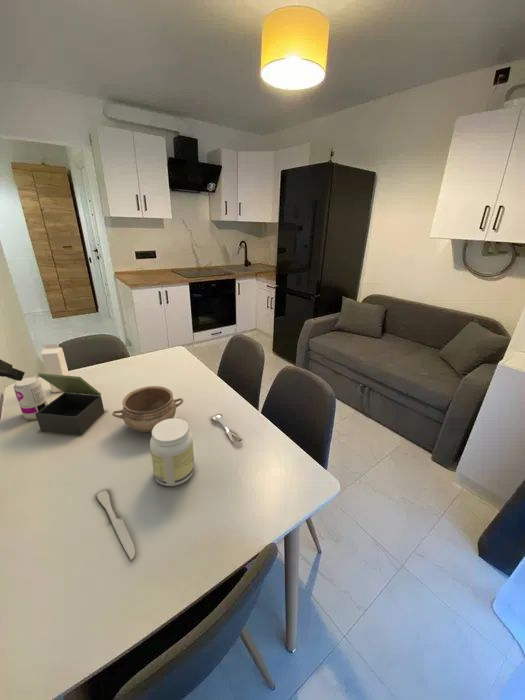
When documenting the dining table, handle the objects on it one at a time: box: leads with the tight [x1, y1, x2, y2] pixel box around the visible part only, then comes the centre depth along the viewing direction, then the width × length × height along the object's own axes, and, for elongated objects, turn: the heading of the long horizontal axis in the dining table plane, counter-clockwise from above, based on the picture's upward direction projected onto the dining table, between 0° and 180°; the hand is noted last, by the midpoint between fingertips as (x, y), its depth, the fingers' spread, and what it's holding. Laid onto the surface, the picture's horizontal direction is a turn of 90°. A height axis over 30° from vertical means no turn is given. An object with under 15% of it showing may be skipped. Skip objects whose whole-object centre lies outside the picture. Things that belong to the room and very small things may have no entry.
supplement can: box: [13, 375, 49, 420], centre depth 112 cm, size 8×8×15 cm
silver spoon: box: [210, 412, 243, 443], centre depth 110 cm, size 20×4×5 cm
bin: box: [35, 392, 105, 436], centre depth 110 cm, size 14×15×8 cm
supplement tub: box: [149, 417, 196, 487], centre depth 88 cm, size 12×12×17 cm
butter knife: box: [96, 490, 136, 560], centre depth 75 cm, size 1×24×3 cm
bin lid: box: [37, 373, 102, 397], centre depth 108 cm, size 15×15×1 cm
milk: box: [40, 343, 70, 393], centre depth 128 cm, size 6×6×22 cm
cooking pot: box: [111, 385, 184, 433], centre depth 109 cm, size 25×19×12 cm
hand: (20, 376), depth 87 cm, fingers closed
